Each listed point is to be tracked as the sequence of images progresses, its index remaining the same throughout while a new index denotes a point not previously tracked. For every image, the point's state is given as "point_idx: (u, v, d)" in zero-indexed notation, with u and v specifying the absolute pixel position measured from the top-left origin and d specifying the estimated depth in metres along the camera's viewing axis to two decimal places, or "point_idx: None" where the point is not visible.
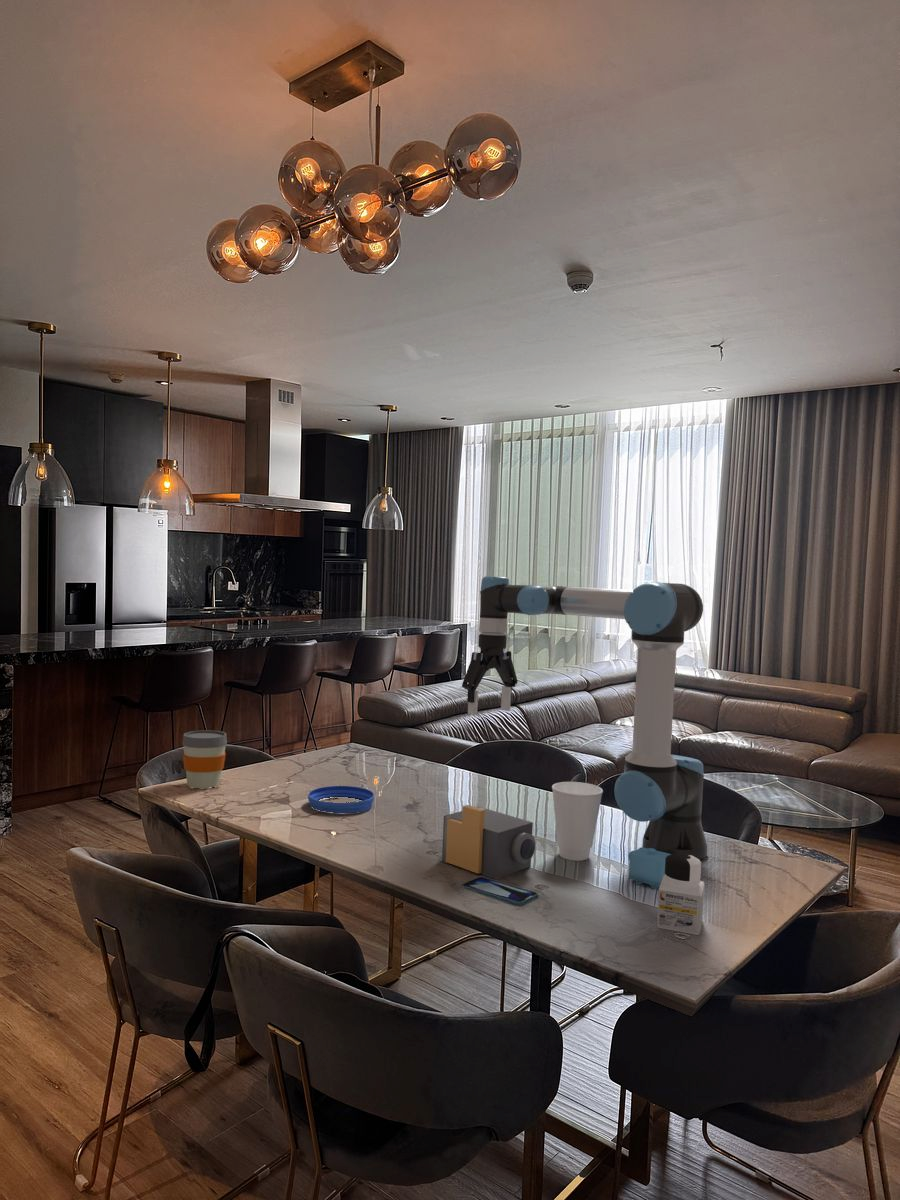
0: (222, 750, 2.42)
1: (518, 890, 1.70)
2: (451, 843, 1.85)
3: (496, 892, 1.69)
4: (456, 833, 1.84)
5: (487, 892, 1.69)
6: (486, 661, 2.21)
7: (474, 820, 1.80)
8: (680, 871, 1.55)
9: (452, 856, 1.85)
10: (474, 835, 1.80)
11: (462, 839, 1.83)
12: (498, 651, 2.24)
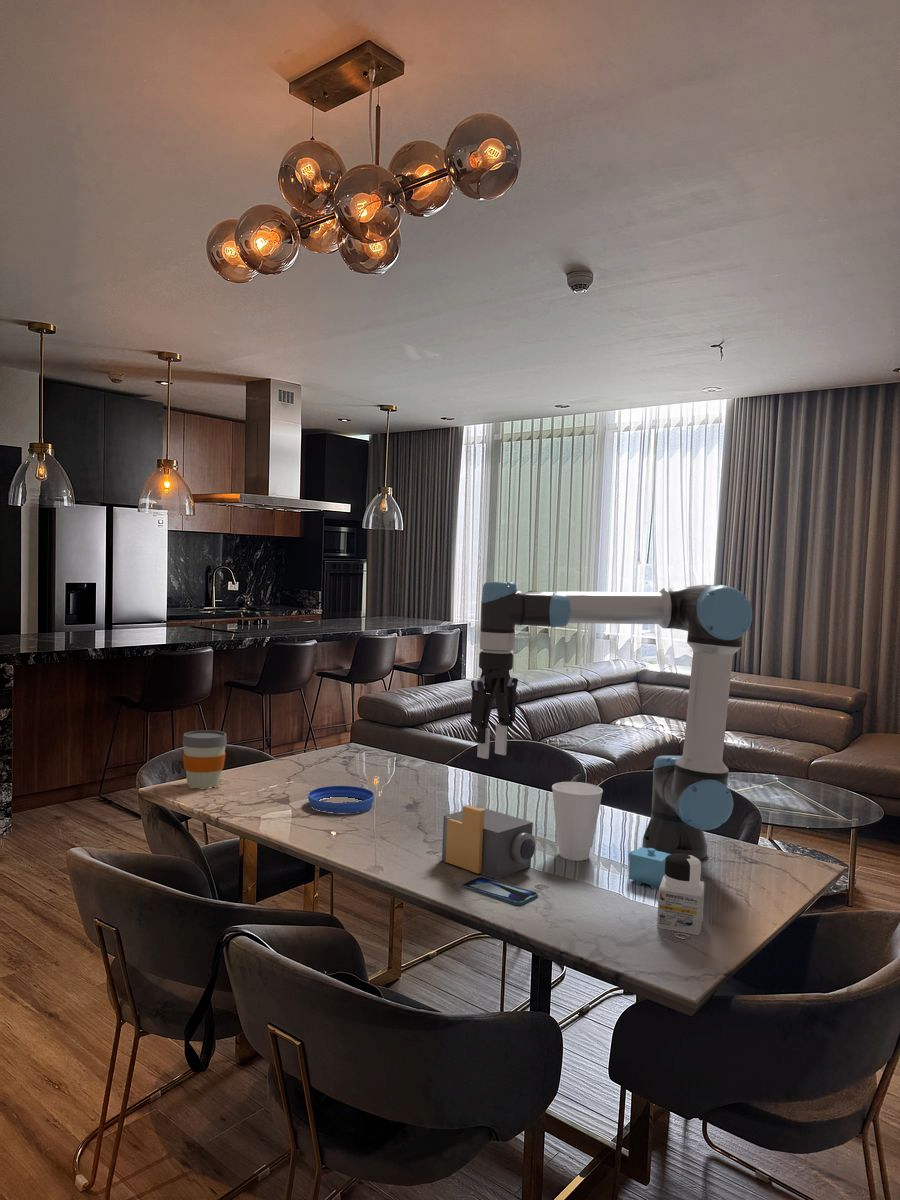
0: (222, 750, 2.42)
1: (518, 890, 1.70)
2: (451, 843, 1.85)
3: (496, 892, 1.69)
4: (456, 833, 1.84)
5: (487, 892, 1.69)
6: (488, 685, 1.81)
7: (474, 820, 1.80)
8: (680, 871, 1.55)
9: (452, 856, 1.85)
10: (474, 835, 1.80)
11: (462, 839, 1.83)
12: (503, 672, 1.84)
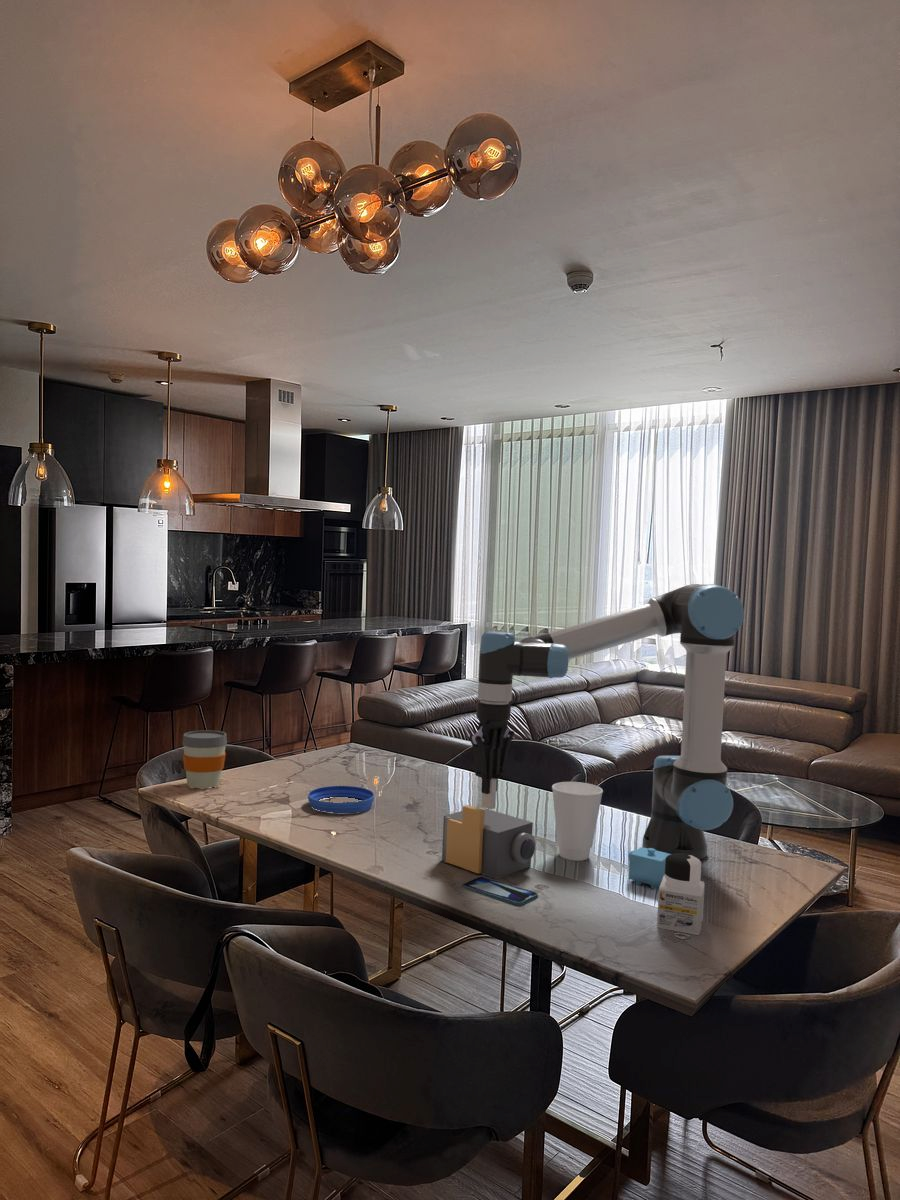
0: (222, 750, 2.42)
1: (518, 890, 1.70)
2: (451, 843, 1.85)
3: (496, 892, 1.69)
4: (456, 833, 1.84)
5: (487, 892, 1.69)
6: (486, 736, 1.81)
7: (474, 820, 1.80)
8: (680, 871, 1.55)
9: (452, 856, 1.85)
10: (474, 835, 1.80)
11: (462, 839, 1.83)
12: (500, 722, 1.85)
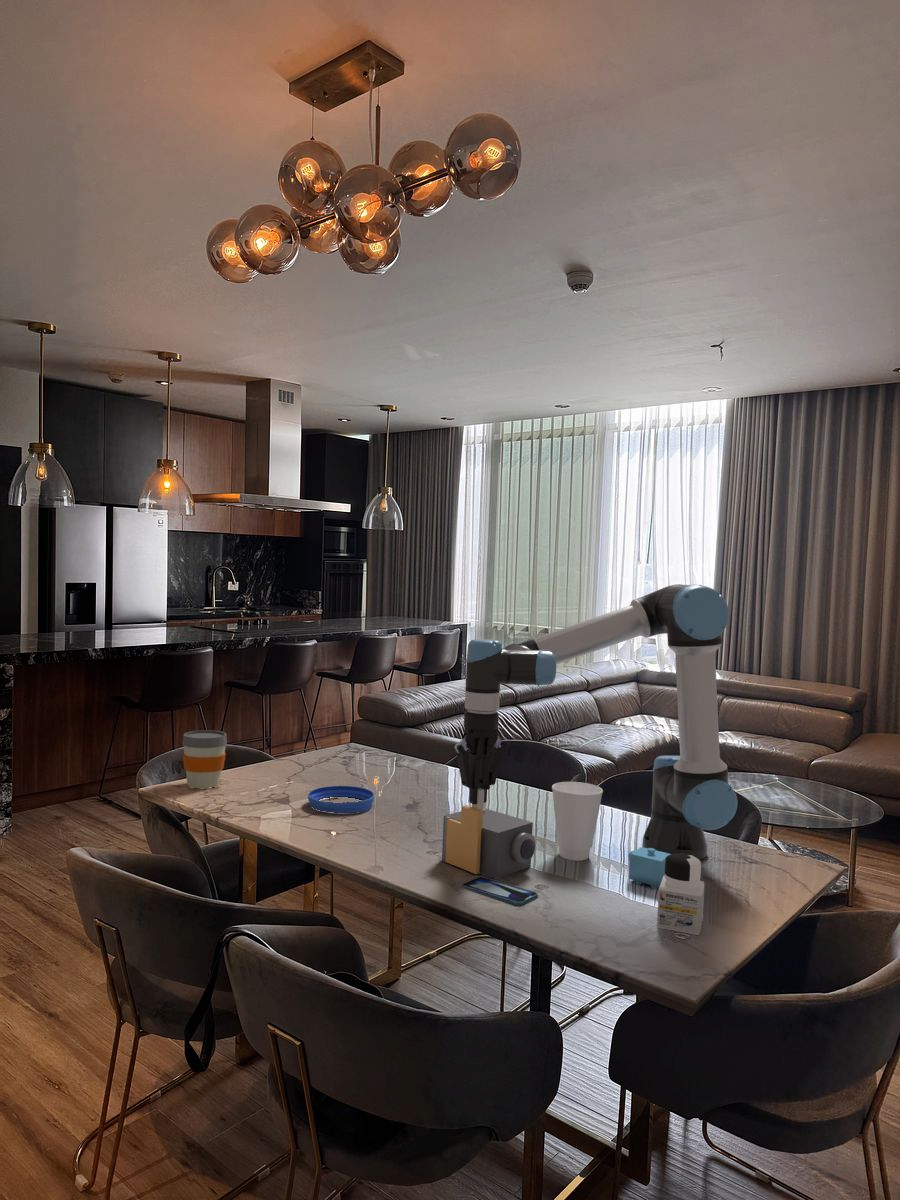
0: (222, 750, 2.42)
1: (518, 890, 1.70)
2: (451, 843, 1.85)
3: (496, 892, 1.69)
4: (455, 833, 1.84)
5: (487, 892, 1.69)
6: (470, 745, 1.79)
7: (472, 820, 1.79)
8: (680, 871, 1.55)
9: (451, 856, 1.84)
10: (472, 835, 1.80)
11: (461, 840, 1.82)
12: (488, 732, 1.81)
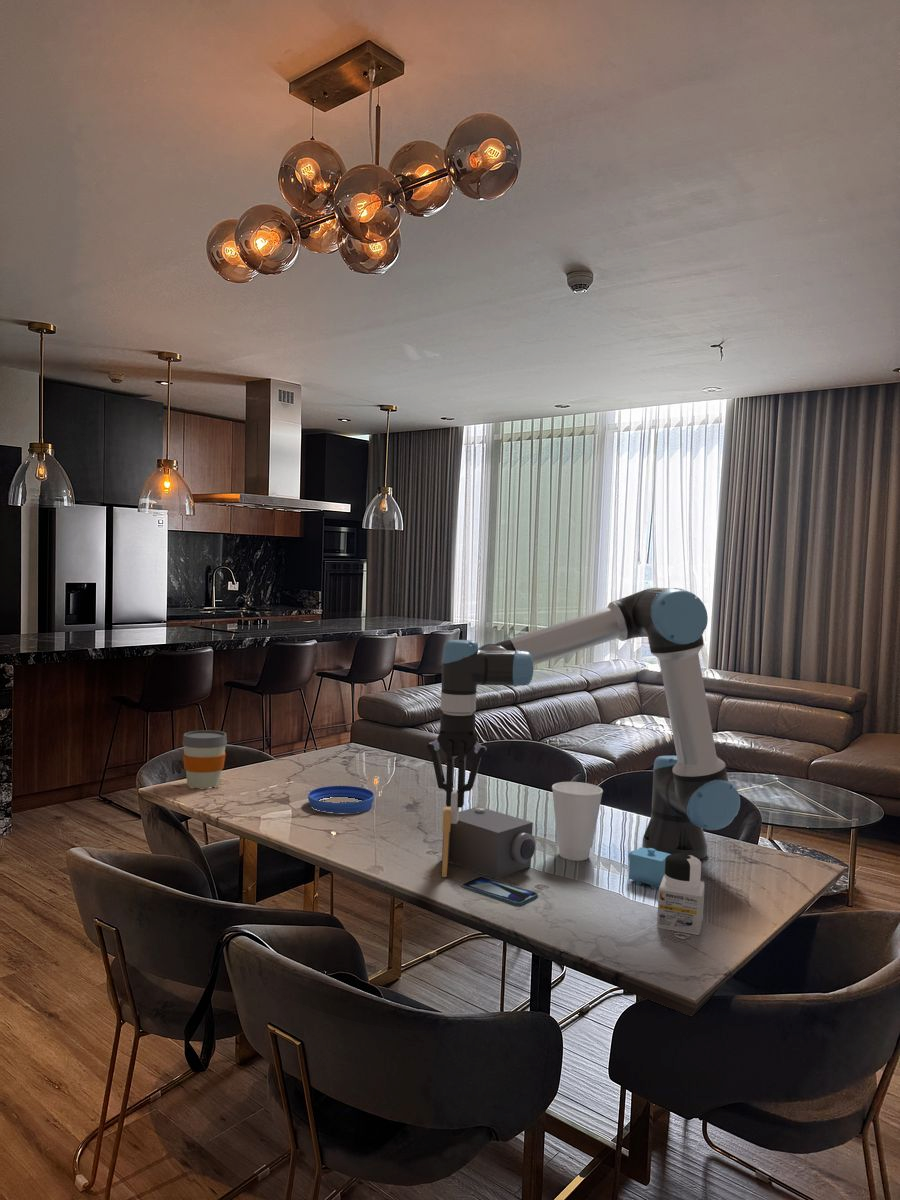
0: (222, 750, 2.42)
1: (518, 890, 1.70)
2: None
3: (496, 892, 1.69)
4: None
5: (487, 892, 1.69)
6: (441, 745, 1.78)
7: None
8: (680, 871, 1.55)
9: None
10: None
11: None
12: (462, 735, 1.77)
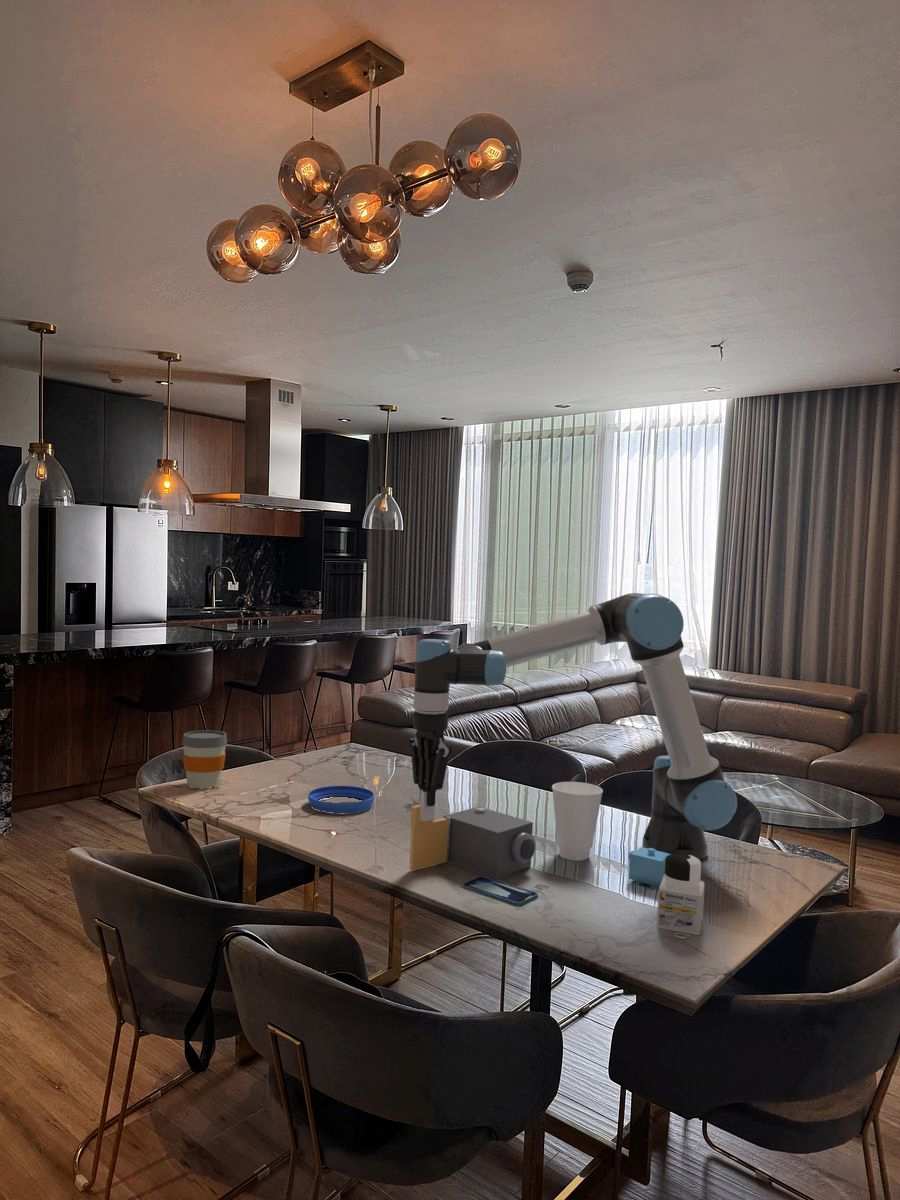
0: (222, 750, 2.42)
1: (518, 890, 1.70)
2: None
3: (496, 892, 1.69)
4: None
5: (487, 892, 1.69)
6: None
7: None
8: (680, 871, 1.55)
9: None
10: None
11: None
12: (429, 733, 1.78)
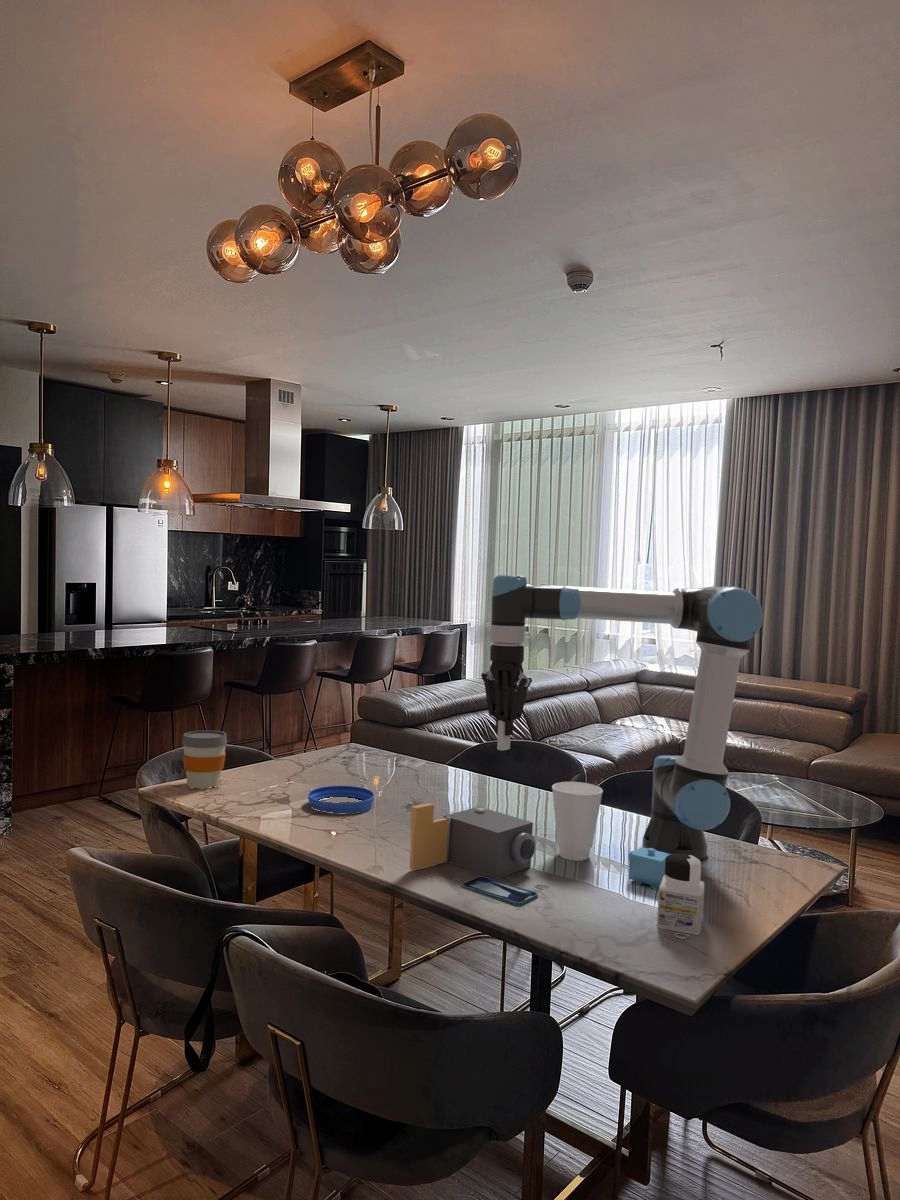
0: (222, 750, 2.42)
1: (518, 890, 1.70)
2: None
3: (496, 892, 1.69)
4: None
5: (487, 892, 1.69)
6: (492, 675, 1.88)
7: None
8: (680, 871, 1.55)
9: None
10: None
11: None
12: (508, 665, 1.84)
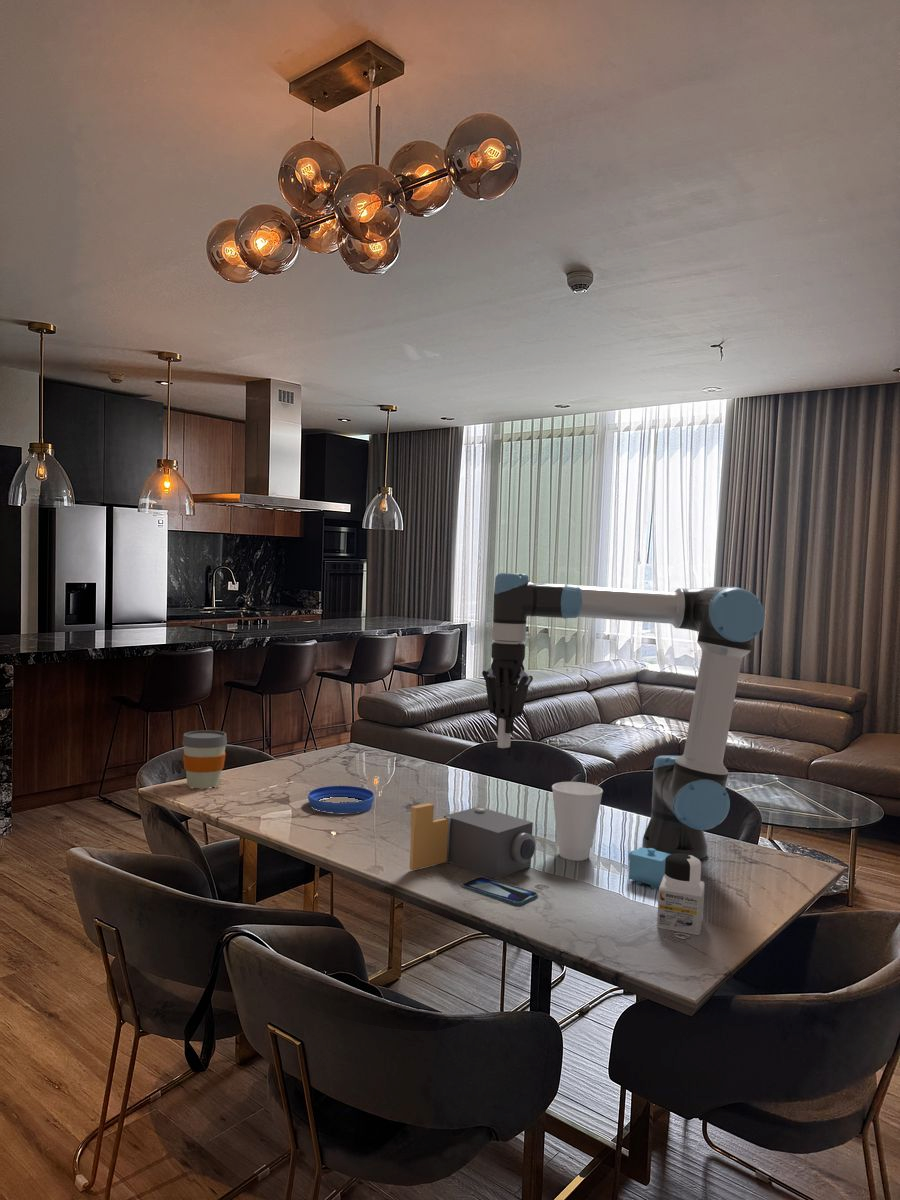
0: (222, 750, 2.42)
1: (518, 890, 1.70)
2: None
3: (496, 892, 1.69)
4: None
5: (487, 892, 1.69)
6: (493, 673, 1.88)
7: None
8: (680, 871, 1.55)
9: None
10: None
11: None
12: (509, 663, 1.85)
